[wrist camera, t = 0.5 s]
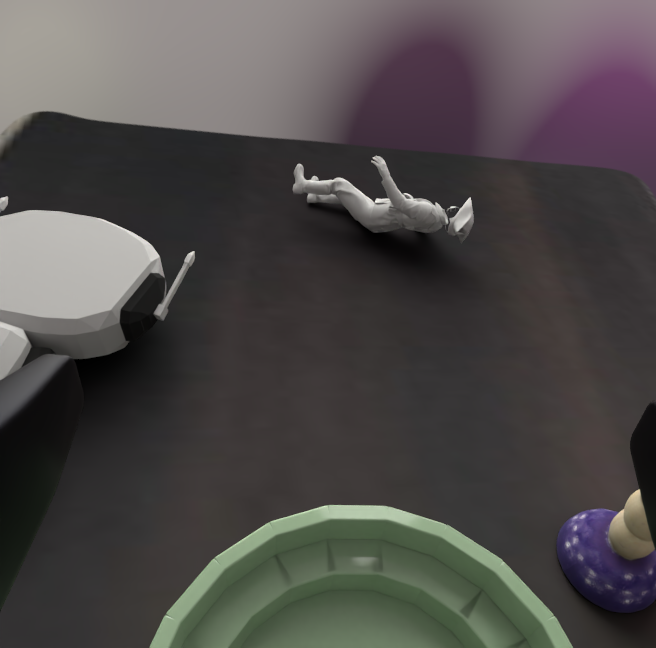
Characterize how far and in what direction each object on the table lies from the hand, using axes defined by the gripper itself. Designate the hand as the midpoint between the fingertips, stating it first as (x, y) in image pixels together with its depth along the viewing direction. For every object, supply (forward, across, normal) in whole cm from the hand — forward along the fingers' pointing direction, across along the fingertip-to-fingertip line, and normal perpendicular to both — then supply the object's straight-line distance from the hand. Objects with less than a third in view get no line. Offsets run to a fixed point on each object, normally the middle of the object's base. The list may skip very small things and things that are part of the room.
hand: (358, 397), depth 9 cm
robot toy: (+16, +16, +14) cm, 26 cm away
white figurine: (+30, -2, +12) cm, 33 cm away
